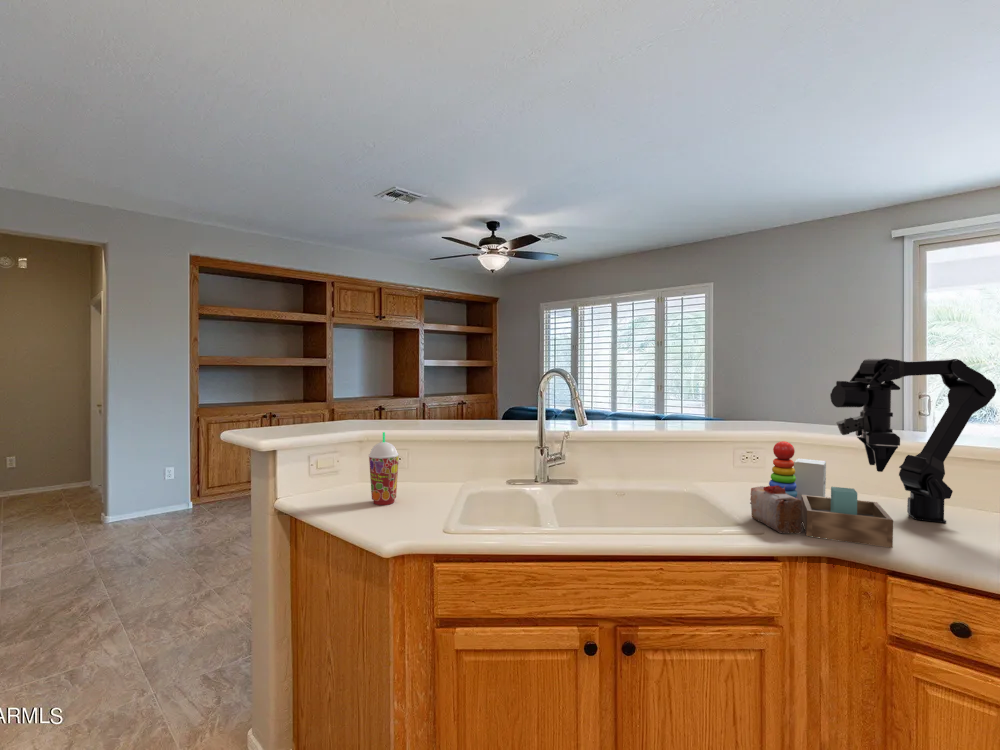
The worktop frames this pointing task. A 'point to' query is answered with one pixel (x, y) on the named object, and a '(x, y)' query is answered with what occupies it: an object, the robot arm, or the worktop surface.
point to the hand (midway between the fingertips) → (875, 468)
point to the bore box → (847, 522)
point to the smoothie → (383, 472)
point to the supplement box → (810, 477)
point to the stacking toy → (784, 468)
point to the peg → (843, 500)
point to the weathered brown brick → (776, 509)
